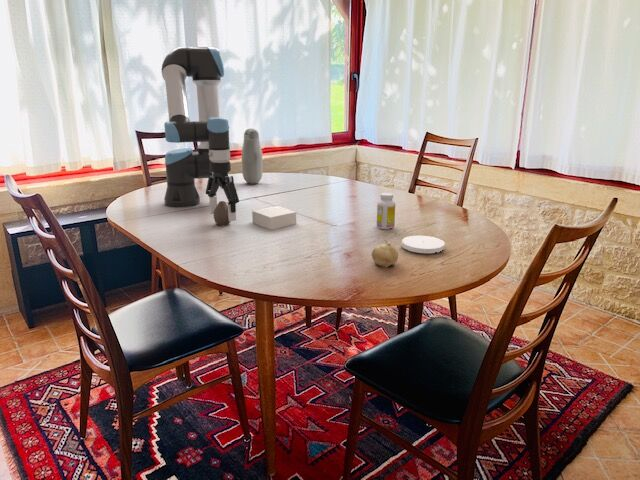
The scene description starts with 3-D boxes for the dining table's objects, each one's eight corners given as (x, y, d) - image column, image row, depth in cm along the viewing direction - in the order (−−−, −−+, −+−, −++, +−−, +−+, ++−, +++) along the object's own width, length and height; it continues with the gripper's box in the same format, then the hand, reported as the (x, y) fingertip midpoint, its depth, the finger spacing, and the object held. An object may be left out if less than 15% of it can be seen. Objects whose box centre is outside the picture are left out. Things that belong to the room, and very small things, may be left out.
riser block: (252, 223, 195) (252, 210, 194) (277, 217, 203) (277, 205, 201) (270, 230, 187) (270, 217, 185) (296, 224, 194) (296, 212, 193)
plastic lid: (414, 239, 178) (414, 232, 177) (451, 248, 169) (452, 241, 169) (393, 249, 168) (393, 242, 167) (431, 259, 159) (432, 251, 158)
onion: (400, 269, 150) (401, 246, 148) (373, 269, 150) (375, 247, 148) (394, 259, 158) (395, 238, 156) (369, 260, 157) (370, 238, 155)
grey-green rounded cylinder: (239, 183, 263) (236, 128, 254) (255, 180, 270) (253, 127, 261) (250, 186, 256) (248, 130, 248) (266, 183, 263) (265, 128, 254)
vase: (228, 227, 189) (227, 204, 186) (211, 226, 190) (209, 203, 187) (235, 222, 195) (234, 200, 192) (218, 221, 196) (217, 199, 194)
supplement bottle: (395, 225, 192) (397, 193, 188) (392, 230, 186) (394, 196, 182) (378, 224, 195) (380, 191, 190) (374, 228, 189) (376, 195, 184)
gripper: (194, 157, 192) (198, 212, 198) (228, 166, 174) (231, 225, 180) (212, 156, 196) (215, 209, 203) (247, 164, 178) (249, 222, 185)
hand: (222, 217), depth 191 cm, fingers open, 13 cm apart
